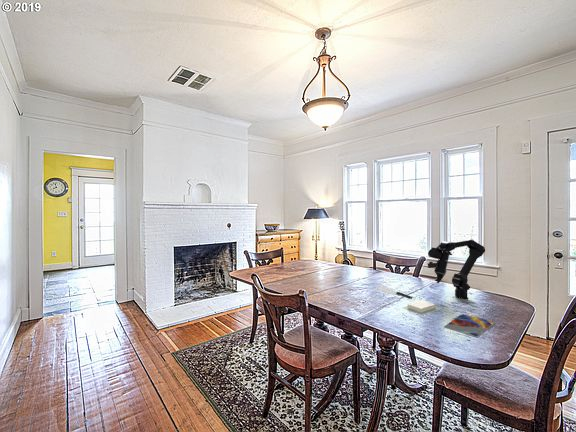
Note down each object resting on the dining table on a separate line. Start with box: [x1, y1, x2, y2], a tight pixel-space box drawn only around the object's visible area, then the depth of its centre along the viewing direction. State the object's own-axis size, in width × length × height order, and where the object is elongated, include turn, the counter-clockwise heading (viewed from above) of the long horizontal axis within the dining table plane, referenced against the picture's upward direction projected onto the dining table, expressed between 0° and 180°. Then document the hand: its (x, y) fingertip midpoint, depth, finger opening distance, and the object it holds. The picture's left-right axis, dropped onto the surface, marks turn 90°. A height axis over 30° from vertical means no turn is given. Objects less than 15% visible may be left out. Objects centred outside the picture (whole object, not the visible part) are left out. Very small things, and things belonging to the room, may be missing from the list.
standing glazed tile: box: [407, 299, 437, 313], centre depth 170 cm, size 3×9×14 cm
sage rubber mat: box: [402, 305, 444, 316], centre depth 171 cm, size 20×14×1 cm
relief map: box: [443, 313, 496, 338], centre depth 146 cm, size 25×15×2 cm, turn 129°
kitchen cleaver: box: [375, 285, 413, 299], centre depth 203 cm, size 31×2×10 cm
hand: (437, 283), depth 187 cm, fingers closed
